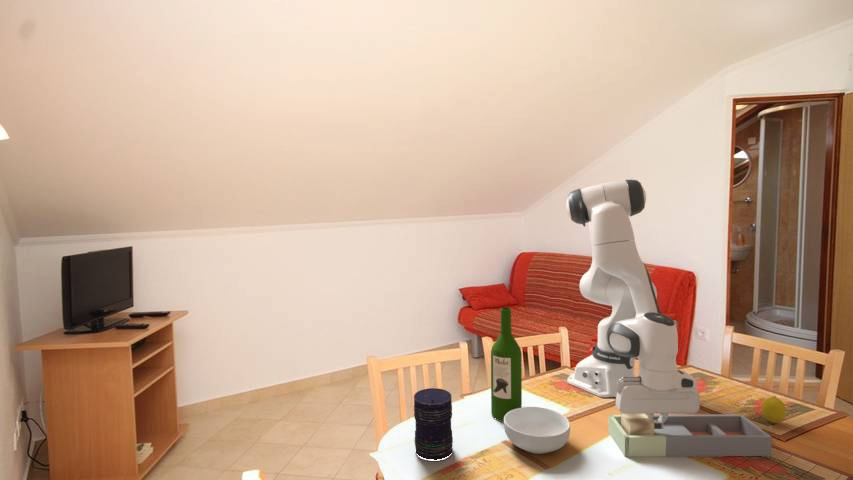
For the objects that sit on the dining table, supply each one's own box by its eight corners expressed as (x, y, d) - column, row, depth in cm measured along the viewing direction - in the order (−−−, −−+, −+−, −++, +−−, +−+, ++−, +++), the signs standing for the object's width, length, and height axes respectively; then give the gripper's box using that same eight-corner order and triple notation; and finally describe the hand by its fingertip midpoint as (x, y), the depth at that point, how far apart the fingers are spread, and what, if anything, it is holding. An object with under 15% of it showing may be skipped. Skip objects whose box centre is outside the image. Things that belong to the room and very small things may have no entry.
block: (629, 439, 121) (630, 424, 121) (621, 428, 127) (621, 413, 127) (653, 439, 121) (654, 424, 120) (643, 427, 127) (644, 413, 126)
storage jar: (416, 441, 128) (414, 388, 127) (452, 441, 128) (451, 387, 126) (413, 462, 118) (412, 404, 117) (453, 462, 118) (452, 404, 117)
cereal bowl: (581, 444, 125) (581, 418, 124) (550, 472, 113) (550, 443, 112) (525, 423, 137) (525, 400, 136) (491, 447, 125) (491, 421, 124)
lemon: (789, 429, 130) (791, 401, 129) (766, 427, 131) (768, 399, 130) (778, 419, 135) (780, 392, 135) (757, 418, 137) (758, 391, 136)
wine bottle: (488, 419, 140) (486, 311, 136) (495, 406, 148) (494, 303, 144) (518, 424, 136) (518, 313, 133) (524, 410, 144) (524, 305, 141)
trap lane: (624, 456, 119) (625, 437, 118) (608, 432, 131) (608, 414, 130) (770, 456, 117) (772, 437, 117) (740, 431, 129) (741, 414, 129)
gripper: (621, 382, 120) (620, 434, 121) (704, 381, 119) (702, 434, 120) (612, 372, 126) (611, 422, 127) (691, 371, 125) (689, 422, 127)
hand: (656, 428), depth 124 cm, fingers closed
